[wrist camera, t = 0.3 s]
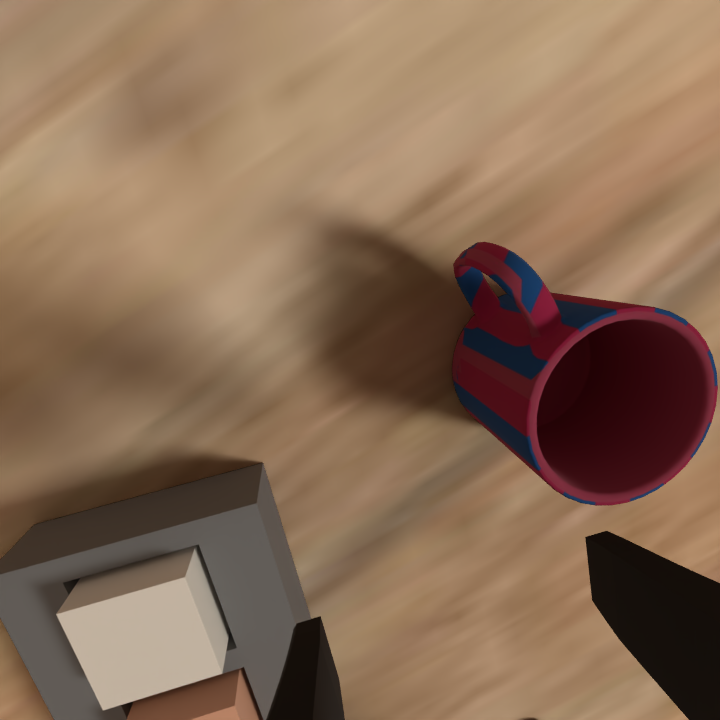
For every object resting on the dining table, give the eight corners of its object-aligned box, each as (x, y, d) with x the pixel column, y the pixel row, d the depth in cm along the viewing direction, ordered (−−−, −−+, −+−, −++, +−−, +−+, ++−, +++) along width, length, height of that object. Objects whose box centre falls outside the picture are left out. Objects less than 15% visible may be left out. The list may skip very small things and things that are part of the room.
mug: (495, 456, 22) (582, 542, 15) (384, 284, 19) (432, 299, 12) (608, 377, 22) (746, 430, 15) (513, 194, 19) (629, 161, 12)
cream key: (230, 626, 19) (222, 673, 17) (125, 658, 18) (102, 710, 16) (198, 538, 18) (185, 577, 16) (85, 570, 17) (56, 614, 15)
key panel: (356, 765, 25) (365, 842, 21) (176, 825, 24) (157, 915, 21) (262, 462, 20) (256, 503, 17) (34, 524, 19) (-20, 580, 16)
